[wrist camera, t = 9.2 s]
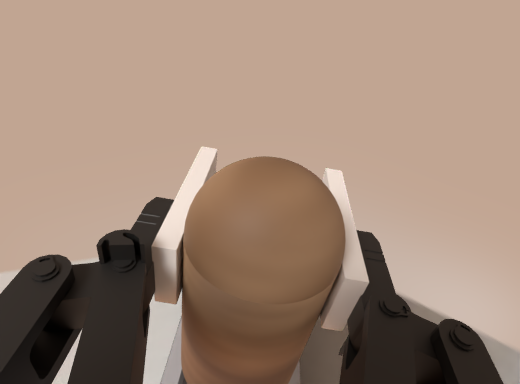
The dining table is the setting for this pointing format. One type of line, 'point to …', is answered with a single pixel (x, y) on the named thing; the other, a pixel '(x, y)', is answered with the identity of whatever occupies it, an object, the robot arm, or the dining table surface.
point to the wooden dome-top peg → (256, 271)
